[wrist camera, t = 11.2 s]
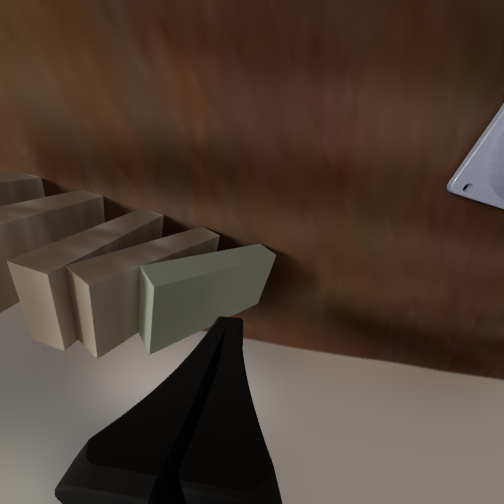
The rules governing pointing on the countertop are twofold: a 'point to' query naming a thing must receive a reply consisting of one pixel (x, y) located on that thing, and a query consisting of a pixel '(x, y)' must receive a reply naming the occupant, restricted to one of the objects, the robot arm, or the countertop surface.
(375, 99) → the countertop surface
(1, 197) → the domino
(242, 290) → the domino
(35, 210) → the domino
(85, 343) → the domino
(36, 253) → the domino
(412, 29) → the countertop surface
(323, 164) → the countertop surface
